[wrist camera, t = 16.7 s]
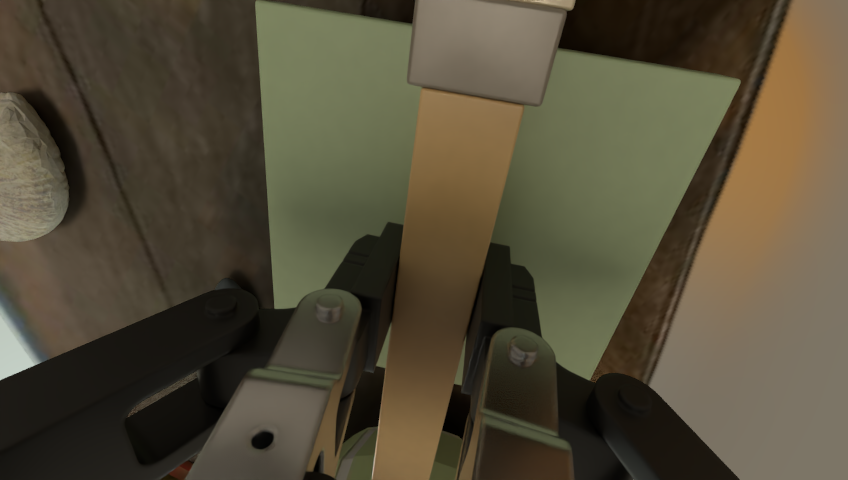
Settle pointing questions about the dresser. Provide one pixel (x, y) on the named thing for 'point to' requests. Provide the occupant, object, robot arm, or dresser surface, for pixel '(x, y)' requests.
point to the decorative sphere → (361, 451)
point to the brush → (454, 200)
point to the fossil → (28, 173)
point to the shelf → (527, 177)
